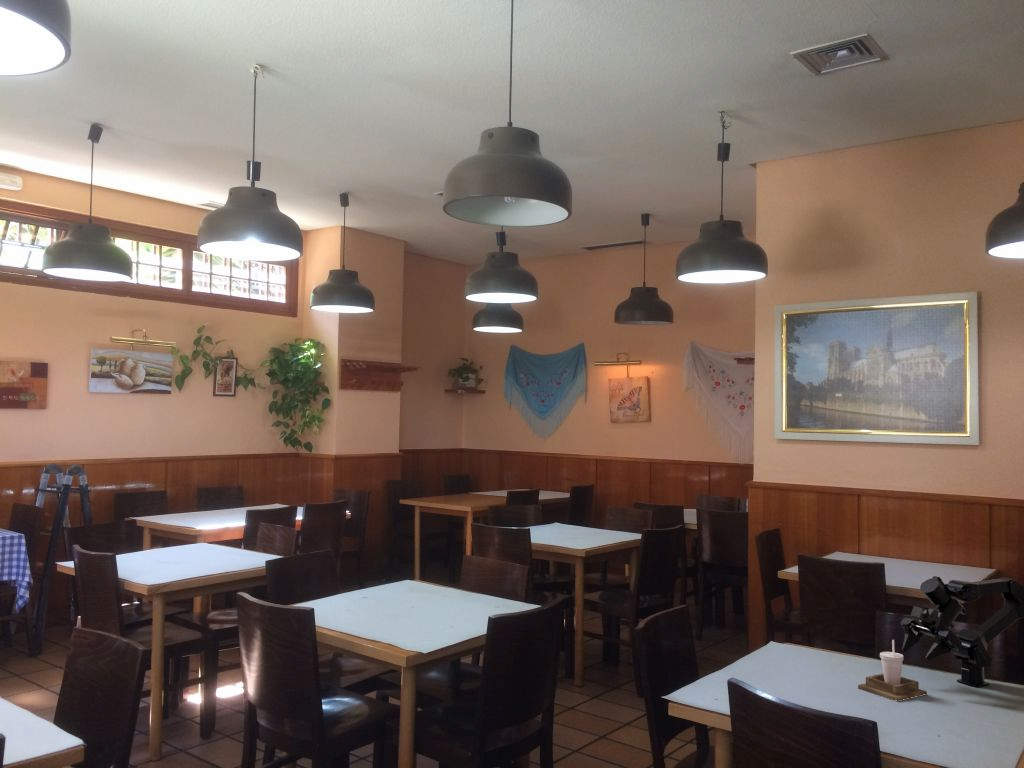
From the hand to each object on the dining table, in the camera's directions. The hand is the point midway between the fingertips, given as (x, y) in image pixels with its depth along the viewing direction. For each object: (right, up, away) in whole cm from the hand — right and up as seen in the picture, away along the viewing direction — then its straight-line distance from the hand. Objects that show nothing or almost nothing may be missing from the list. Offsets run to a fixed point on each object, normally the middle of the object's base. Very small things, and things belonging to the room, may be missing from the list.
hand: (914, 655), depth 233 cm
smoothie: (-8, -9, -3) cm, 12 cm away
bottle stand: (-8, -10, -3) cm, 13 cm away
